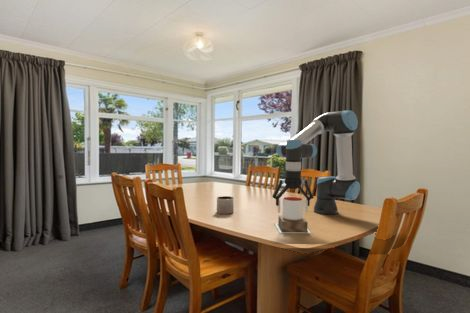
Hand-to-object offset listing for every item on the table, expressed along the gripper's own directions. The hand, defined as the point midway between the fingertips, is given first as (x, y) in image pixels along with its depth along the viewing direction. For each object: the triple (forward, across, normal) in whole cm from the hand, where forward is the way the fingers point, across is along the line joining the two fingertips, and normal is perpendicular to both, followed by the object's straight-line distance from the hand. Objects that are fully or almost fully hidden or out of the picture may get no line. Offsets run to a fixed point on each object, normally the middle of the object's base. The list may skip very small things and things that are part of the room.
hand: (292, 212), depth 138 cm
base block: (+8, 0, 0) cm, 8 cm away
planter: (+10, +35, -38) cm, 53 cm away
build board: (+10, 0, 0) cm, 10 cm away
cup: (+3, 0, 0) cm, 3 cm away
